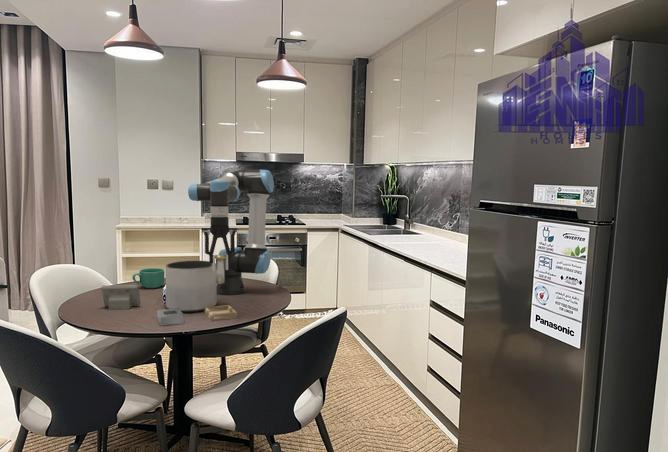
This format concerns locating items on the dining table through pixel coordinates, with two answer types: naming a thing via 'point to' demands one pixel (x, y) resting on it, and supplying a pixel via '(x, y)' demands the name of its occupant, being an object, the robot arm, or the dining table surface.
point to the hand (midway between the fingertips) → (220, 269)
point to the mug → (150, 277)
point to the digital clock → (120, 296)
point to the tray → (220, 312)
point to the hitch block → (170, 316)
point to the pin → (220, 268)
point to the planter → (190, 285)
